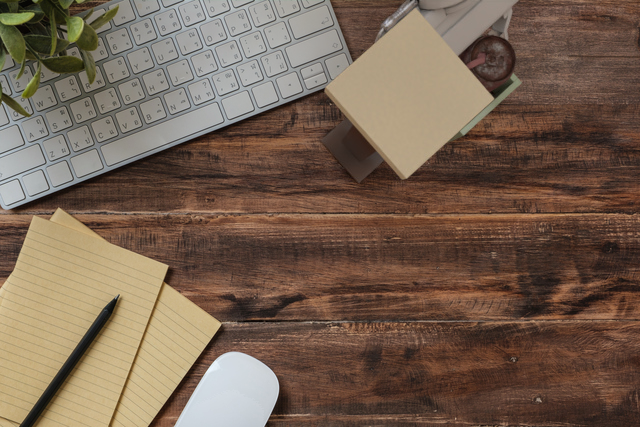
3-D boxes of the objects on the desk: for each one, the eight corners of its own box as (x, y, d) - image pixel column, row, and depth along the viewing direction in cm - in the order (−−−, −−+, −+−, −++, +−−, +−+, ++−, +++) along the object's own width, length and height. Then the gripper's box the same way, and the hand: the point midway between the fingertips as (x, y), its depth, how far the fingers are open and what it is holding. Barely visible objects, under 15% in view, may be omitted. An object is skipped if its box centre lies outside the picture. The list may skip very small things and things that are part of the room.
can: (422, 81, 68) (456, 47, 54) (460, 61, 69) (504, 22, 55) (441, 119, 68) (480, 95, 55) (479, 99, 69) (528, 70, 55)
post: (320, 141, 67) (340, 92, 40) (361, 104, 68) (410, 31, 41) (357, 183, 68) (403, 163, 41) (399, 146, 68) (471, 101, 41)
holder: (399, 86, 68) (410, 74, 62) (453, 38, 69) (469, 21, 63) (448, 142, 69) (463, 135, 63) (502, 94, 69) (522, 82, 63)
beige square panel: (323, 91, 40) (325, 86, 39) (411, 14, 41) (415, 7, 39) (402, 180, 41) (406, 178, 39) (487, 103, 41) (495, 98, 40)
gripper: (389, 42, 46) (428, 135, 56) (540, -95, 47) (551, 21, 57) (352, 26, 50) (394, 114, 61) (491, -99, 51) (509, 9, 62)
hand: (471, 68), depth 59 cm, fingers open, 8 cm apart
